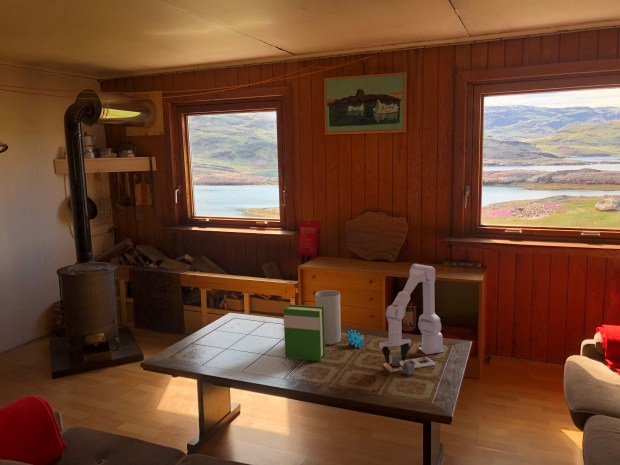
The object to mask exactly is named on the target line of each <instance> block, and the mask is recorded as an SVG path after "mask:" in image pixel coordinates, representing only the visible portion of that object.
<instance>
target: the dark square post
mask: <svg viewBox="0 0 620 465" xmlns="http://www.w3.org/2000/svg"><path fill="white" fill-rule="evenodd" d="M400 361H401V355H400V354H399V353H390V362H391V367H392V368H396V367H400Z"/></svg>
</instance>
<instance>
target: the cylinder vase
mask: <svg viewBox="0 0 620 465" xmlns="http://www.w3.org/2000/svg"><path fill="white" fill-rule="evenodd" d="M314 296H315V306H320V307H324V326H325V346H326V345H331V346H332V345H336V344H338V343H340V342H341V340H342V328H341V327H342V324H341V323H342V322H341V319H342V317H341V292H339V291H338V290H333V289H332V290H330V289H329V290H328V289H327V290H320V291H317V292H315V294H314Z"/></svg>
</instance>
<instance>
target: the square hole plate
mask: <svg viewBox="0 0 620 465" xmlns="http://www.w3.org/2000/svg"><path fill="white" fill-rule="evenodd" d="M424 361H426V362H424ZM408 362H409V363H411V364H413V365H414V369H418V368H424V367H431V366H436V362H435V361H434V360H432V358H430V357H428V356H423V357H416V358H411V359H405V361H403V360H400V367H396V368H392V367H391V361H389V363H388V364H387V363H386V362H385V363H383V367H384V368H385V369H386V370H387V371H388V372H390V373H395V372H399V371H400V372H401V371H403V364H405V363H408ZM421 362H424V363H421Z"/></svg>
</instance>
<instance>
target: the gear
mask: <svg viewBox="0 0 620 465" xmlns="http://www.w3.org/2000/svg"><path fill="white" fill-rule="evenodd" d="M346 338H347V341H348V344H349V345H351V346H353V345H354V347H355V348H362V347H363V345H364V342H365V340H363V338H364V335H363V334H362V335H361V334H360V332H357V330H355V329H354V330H353V329H350V330H348V331H347V333H346Z"/></svg>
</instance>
